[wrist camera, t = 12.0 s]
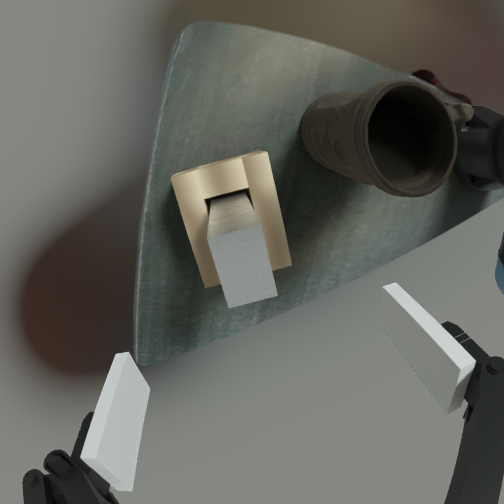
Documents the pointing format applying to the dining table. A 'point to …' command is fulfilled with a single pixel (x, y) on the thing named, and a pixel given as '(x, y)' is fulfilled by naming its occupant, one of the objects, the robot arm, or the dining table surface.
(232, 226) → the tall grey pillar
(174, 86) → the dining table surface
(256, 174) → the well block
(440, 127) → the beer stein
